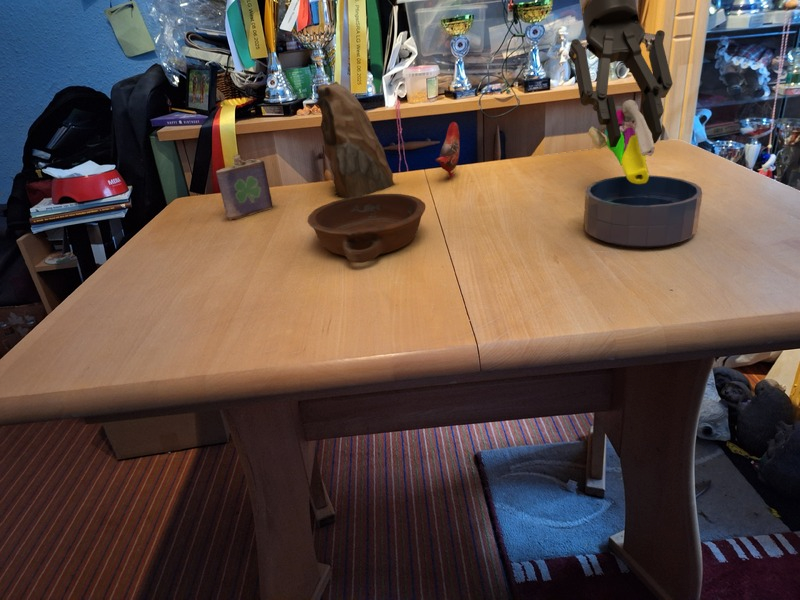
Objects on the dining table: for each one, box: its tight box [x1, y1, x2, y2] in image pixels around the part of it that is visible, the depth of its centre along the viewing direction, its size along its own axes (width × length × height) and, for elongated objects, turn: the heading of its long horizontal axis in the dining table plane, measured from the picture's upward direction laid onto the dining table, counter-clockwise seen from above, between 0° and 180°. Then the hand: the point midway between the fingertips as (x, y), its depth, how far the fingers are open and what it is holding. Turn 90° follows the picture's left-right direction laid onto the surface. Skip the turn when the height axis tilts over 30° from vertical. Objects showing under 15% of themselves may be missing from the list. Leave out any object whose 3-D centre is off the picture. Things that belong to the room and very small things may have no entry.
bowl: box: [583, 174, 703, 249], centre depth 76 cm, size 14×14×6 cm
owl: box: [315, 81, 395, 199], centre depth 108 cm, size 13×13×20 cm
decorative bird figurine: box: [435, 121, 460, 180], centre depth 109 cm, size 3×18×10 cm, turn 162°
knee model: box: [587, 99, 656, 184], centre depth 81 cm, size 9×8×25 cm
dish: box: [307, 193, 427, 264], centre depth 84 cm, size 18×22×5 cm
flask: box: [215, 154, 274, 221], centre depth 102 cm, size 9×3×11 cm, turn 129°
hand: (635, 139), depth 77 cm, fingers closed on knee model, 5 cm apart
